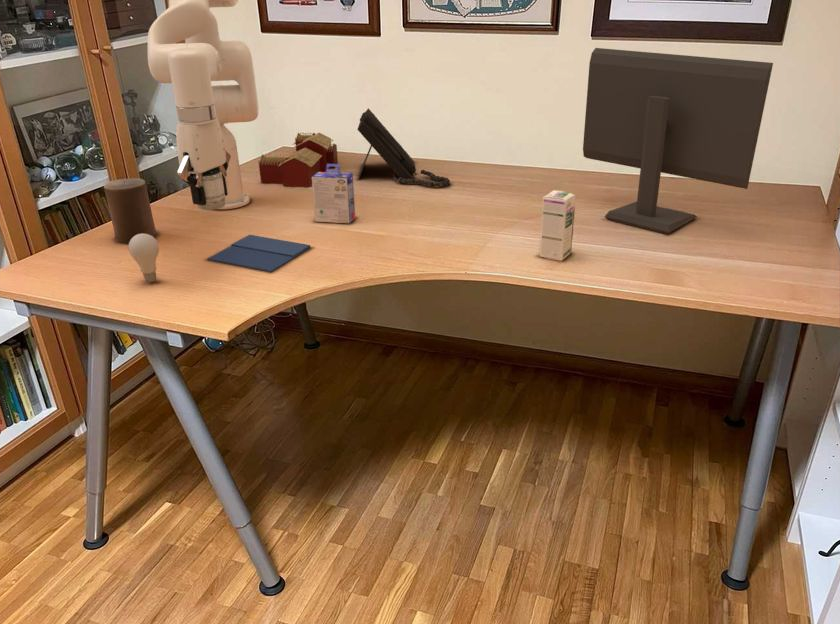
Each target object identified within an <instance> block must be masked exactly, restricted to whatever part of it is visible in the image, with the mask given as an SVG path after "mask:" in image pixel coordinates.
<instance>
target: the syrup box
mask: <svg viewBox="0 0 840 624" xmlns="http://www.w3.org/2000/svg"><path fill="white" fill-rule="evenodd" d="M576 198H577V193H574V192H571V191H566V190H554V189H553V190H552V191H551V192H549V193H548V194H546V195H545V196H543V197H542V205H541V207H542V208H541V220H540V221H541V223H540V239H539V241H540V242H539V257H541V258H544V259H548V260H554V261H559V262H563V260H565V259H566V258H567V257H568V256H569V255H570V254H572V250H573V249H572V248H573V237H574V236H573V235H574V222H575V212H576V211H575V210H576V200H577V199H576Z"/></svg>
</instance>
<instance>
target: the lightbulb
mask: <svg viewBox="0 0 840 624" xmlns="http://www.w3.org/2000/svg"><path fill="white" fill-rule="evenodd" d="M127 249H128V253H129V255H130V256H131V258H132V259H133V260H134V261H135V262H136V263H137V265H138V267H139V268H140V272H141V273H142V276H143V280H144V281H145V282H148V283H150V284H151V283H154V282H155V281H156V280H157V258H158V256H159V252H160V245H159V242H158V240H157V239H156V238H155V237H152V236H151V235H149V234H137V235H135V236H134V237H133V238H132V239H131V240H130V242H129V243H128V248H127Z"/></svg>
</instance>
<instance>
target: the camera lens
mask: <svg viewBox="0 0 840 624" xmlns="http://www.w3.org/2000/svg"><path fill="white" fill-rule="evenodd" d="M194 179H195V180H196V174H194ZM201 186H203V187H204V192H205V198H206V205H197V207H198V209H200V210H203V211H215V210H220V209H219V208H222V207H224V206H225V192H224V185H223V179H222V173H221V171H219V170H218V169H215V168H214V169H211V170H209V171H206V172H203V173H202V181H201Z"/></svg>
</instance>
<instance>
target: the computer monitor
mask: <svg viewBox="0 0 840 624" xmlns="http://www.w3.org/2000/svg"><path fill="white" fill-rule="evenodd" d="M773 67H774V62H766V61H758V60H757V61H755V60H743V59H733V58H719V57H708V56H696V55H685V54H675V53H662V52H652V51H651V52H649V51H639V50H638V51H637V50H626V49H615V48H603V47H602V48H601V47H595V48H594V49H593V50H592V52H591V55H590V58H589V65H588V77H587V91H586V104H585V117H584V127H583V129H584V130H583V142H582V154H583V155H582V156H583V157H584V158H585V159H589V160H594V161H599V162H604V163H610V164H616V165H620V166H626V167H629V168H635V169H640V171H639V178H638V179H639V180H638V187H637V188H638V189H637V199H636V201H634V202H631V203H628V204H624V205H623V206H620V207H616V208H614V209H611V210H609V211H608V212H607V213H606V214H605V215H604V217H605V218H606V219H607V220H609V221H613V222H616V223H621V224H625V225H629V226H633V227H637V228H642V229H645V230H649V231H653V232H657V233H662V234H665V235H668V234H670V233H671V232H673V231H675V230H677V229H679V228H680V227H683V226H684V225H686V224H687V223H689V222H691V221H692V220H694V219H696V218H698V216H697V215H696V214H693V213H690V212H685V211H681V210H677V209H673V208H668V207H663V206H659V205H658V198H659V191H660V182H661V174H668V175H672V176H677V177H683V178H688V179H692V180H698V181H702V182H703V181H704V182H709V183H713V184H719V185H724V186H730V187H734V188H739V189H744V190H748V187H749V183H750V178H751V173H752V169H753V163H754V159H755V153H756V149H757V144H758V139H759V134H760V131H761V124H762V120H763V114H764V110H765V105H766V101H767V95H768V91H769V84H770V80H771V76H772V71H773Z"/></svg>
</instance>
